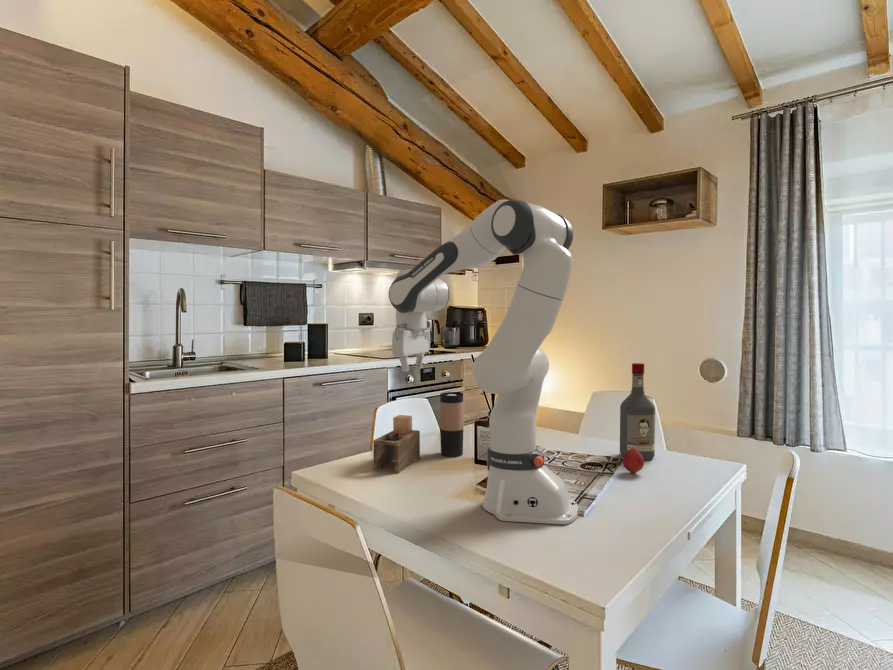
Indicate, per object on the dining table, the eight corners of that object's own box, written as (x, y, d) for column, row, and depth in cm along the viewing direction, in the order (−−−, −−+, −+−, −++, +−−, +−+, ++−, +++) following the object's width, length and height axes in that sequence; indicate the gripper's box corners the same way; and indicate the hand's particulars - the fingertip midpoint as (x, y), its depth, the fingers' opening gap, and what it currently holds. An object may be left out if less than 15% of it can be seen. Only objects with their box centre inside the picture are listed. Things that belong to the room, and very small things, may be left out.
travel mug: (437, 452, 174) (437, 392, 173) (459, 450, 176) (458, 391, 175) (444, 458, 166) (443, 396, 165) (466, 456, 169) (466, 395, 168)
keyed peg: (412, 442, 165) (411, 415, 165) (406, 445, 161) (406, 418, 160) (399, 441, 166) (399, 414, 166) (393, 444, 162) (393, 417, 162)
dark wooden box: (419, 458, 166) (419, 430, 166) (398, 473, 151) (397, 442, 151) (397, 456, 169) (396, 428, 169) (373, 470, 154) (373, 440, 154)
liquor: (617, 453, 171) (618, 362, 170) (643, 452, 172) (644, 362, 171) (629, 461, 162) (630, 365, 161) (657, 460, 163) (659, 365, 162)
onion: (622, 476, 148) (622, 448, 148) (622, 470, 153) (622, 443, 153) (644, 478, 146) (644, 449, 146) (643, 472, 152) (643, 444, 151)
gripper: (405, 323, 145) (407, 373, 145) (433, 322, 164) (434, 366, 164) (385, 324, 147) (387, 373, 147) (414, 323, 166) (416, 366, 166)
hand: (412, 369), depth 156 cm, fingers open, 8 cm apart
